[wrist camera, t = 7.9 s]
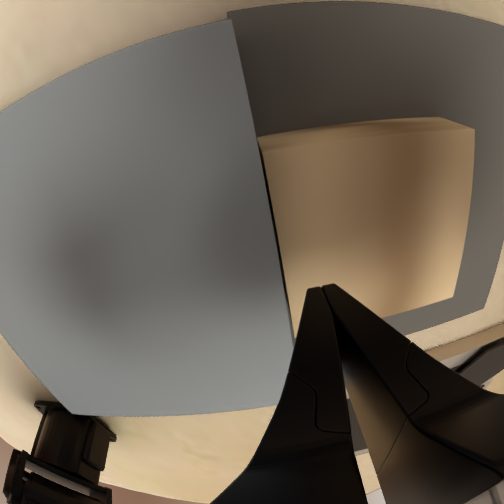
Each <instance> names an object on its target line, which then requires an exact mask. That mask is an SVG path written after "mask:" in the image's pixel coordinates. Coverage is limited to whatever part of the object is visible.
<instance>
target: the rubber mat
mask: <svg viewBox="0 0 504 504" xmlns="http://www.w3.org/2000/svg"><path fill="white" fill-rule="evenodd" d="M227 17H228V19H231V20H232V24H233V29H234V33H235V38H236V42H237V47H238V52H239V56H240V61H241V66H242V70H243V75H244V80H245V84H246V89H247V94H248V99H249V104H250V109H251V114H252V119H253V124H254V129H255V134H256V139H257V137H261V136H266V135H271V134H277V133H283V132H289V131H295V130H301V129H308V128H315V127H322V126H329V125H337V124H346V123H355V122H365V121H375V120H387V119H402V118H420V117H441V118H444V119H447V120H450V121H453V122H456V123H459V124H462V125H464V126H467V127H470V128H472V129H475V148H474V169H473V182H472V193H471V202H470V211H469V218H468V225H467V232H466V238H465V244H464V249H463V254H462V260H461V264H460V269H459V274H458V278H457V282H456V287H455V291H454V295H453V297H451V298H448V299H445V300H442V301H439V302H436V303H432V304H429V305H426V306H423V307H419V308H416V309H412V310H409V311H405V312H402V313H398V314H395V315H391V316H387V317H383V318H382V319H383V320H384V321H386V322H387V323H388V324H390V325H391V326H392V327H393V328H395V329H396V330H397V331H399V332H400V333H401V334H403V335H408V334H411V333H414V332H417V331H421V330H424V329H427V328H430V327H433V326H436V325H439V324H442V323H445V322H448V321H451V320H454V319H457V318H459V317H462V316H465V315H468V314H470V313H473V312H476V311H478V310H481V309H483V308H484V306H485V303H486V300H487V297H488V294H489V291H490V288H491V285H492V282H493V278H494V275H495V272H496V268H497V264H498V261H499V257H500V253H501V249H502V245H503V241H504V26H501V25H498V24H495V23H491V22H488V21H484V20H481V19H477V18H473V17H469V16H465V15H460V14H456V13H451V12H446V11H441V10H435V9H429V8H423V7H416V6H408V5H399V4H389V3H375V2H351V1H328V2H303V3H290V4H279V5H270V6H262V7H254V8H248V9H241V10H236V11H230V12H227ZM257 144H258V142H257ZM258 149H259V147H258ZM259 154H260V152H259ZM260 159H261V157H260ZM261 165H262V162H261ZM262 170H263V167H262ZM263 175H264V173H263ZM264 180H265V178H264ZM265 186H266V183H265ZM266 191H267V188H266ZM267 197H268V193H267ZM268 202H269V199H268ZM269 207H270V204H269ZM270 213H271V209H270ZM271 219H272V215H271ZM272 224H273V220H272ZM273 230H274V226H273ZM274 235H275V231H274ZM275 241H276V236H275ZM276 247H277V242H276ZM277 252H278V248H277ZM278 258H279V253H278ZM279 264H280V259H279ZM280 270H281V264H280ZM281 276H282V270H281ZM282 282H283V276H282ZM283 288H284V282H283ZM284 294H285V300H286V306H287V312H288V318H289V324H290V331H291V337H292V343H293V349H294V344H295V340H296V338H295V337H294V332H293V328H292V323H291V318H290V314H289V309H288V304H287V299H286V293H285V288H284Z"/></svg>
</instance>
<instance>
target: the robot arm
mask: <svg viewBox="0 0 504 504" xmlns="http://www.w3.org/2000/svg"><path fill="white" fill-rule="evenodd" d="M345 387H346V388H345ZM346 390H347V392H348V395H349V398H350V400H351V403H352V406H353V409H354V411H355V414H356V417H357V420H358V422H359V425H360V428H361V431H362V434H363V436H364V439H365V442H366V445H367V448H368V451H369V454H370V457H371V459H372V462H373V465H374V468H375V471H376V474H377V477H378V480H379V483H380V486H381V489H382V493H383V496H384V499H385V501H386V504H504V394H497V393H493V392H490V391H488V390H485V389H483V388H481V387H480V386H478V385H476V384H475V383H473V382H471V381H470V380H468V379H466V378H465V377H463V376H462V375H460V374H458V373H457V372H455V371H453V370H452V369H450V368H448V367H447V366H445V365H444V364H442V363H441V362H439V361H438V360H436V359H434V358H433V357H432V356H430V355H429V354H428V353H426V352H425V351H424V350H422V349H421V348H420V347H418V346H417V345H416V344H414V343H413V342H411V341H410V340H409V339H408V338H406V337H405V336H404V335H403V334H401V333H400V332H399V331H397V330H396V329H395V328H393V327H392V326H391V325H390V324H388V323H387V322H386V321H384V320H383V319H382V318H380V317H379V316H378V315H376V314H375V313H374V312H372V311H371V310H370V309H368V308H367V307H366V306H365V305H363V304H362V303H361V302H359V301H358V300H357V299H355V298H354V297H353V296H351V295H350V294H349V293H347V292H346V291H345V290H343V289H342V288H341V287H339V286H338V285H336V284H335V283H331V284H327V285H322V287H320V286H317V287H312V288H308V289H307V291H306V296H305V300H304V305H303V309H302V314H301V318H300V323H299V327H298V332H297V336H296V340H295V344H294V349H293V353H292V357H291V361H290V365H289V369H288V373H287V376H286V380H285V384H284V387H283V390H282V394H281V397H280V400H279V402H278V405H277V407H276V410H275V412H274V415H273V417H272V419H271V421H270V423H269V425H268V428H267V430H266V432H265V434H264V436H263V438H262V440H261V442H260V444H259V446H258V448H257V450H256V452H255V454H254V456H253V458H252V459H251V461H250V463H249V464H248V466H247V467H246V468H245V470H244V471H243V472H242V473H241V474H240V475H239V476H238V477H237V478H236V479H235V480H234V481H233V482H232V483H231V484H230V485H229V486H228V487H227V488H226V489H225V490H224V491H223V492H222V493H221V494H220V495H219V496H218V497H217V498H215V499H214V500H213V501H212V502H211V503H210V504H368V502H367V498H366V494H365V490H364V487H363V483H362V479H361V475H360V472H359V468H358V465H357V461H356V457H355V453H354V447H353V441H352V435H351V425H350V417H349V409H348V402H347V395H346ZM34 406H35V407H36V408H37V409H38V410H39V411H40V412H41V413H42V414H43V417H42V419H41V422H40V426H39V429H38V432H37V435H36V438H35V441H34V445H33V448H32V451H31V455H30V454H28V452H26V451H24V450H22V452H21V451H18V450H15V449H13V452H12V455H11V459H10V462H9V466H8V470H7V474H6V478H5V483H4V487H3V493H4V495H5V497H6V498H7V503H8V504H112V489H110V488H107V487H102V486H99V485H98V482H99V477H100V471H103V470H104V468H105V463H106V457H107V452H108V447H109V442H116V438H117V437H116V436H115V435H114V434H113V433H111V432H110V431H109V430H108V429H107V428H106V427H105V426H104V425H103V424H101V423H100V422H99V421H98V420H97V419H96V418H95V417H94V416H93V415H78V414H72V413H71V412H70V411H69V410H68V409H66V408H65V407H64V406H63V405H62V404H61V403H49V402H39V401H35V404H34ZM25 467H26V468H28V469H30V470H32V471H34V472H36V473H38V474H40V475H38V474H36V473H34V472H31V473H28V472H26V471H25V470H24V469H25ZM41 475H42V476H41ZM43 476H44V477H43ZM45 477H46V478H45ZM47 478H48V479H47ZM49 479H50V480H49ZM51 480H53V481H55V482H53V481H51ZM56 482H57V483H56ZM58 483H59V484H58ZM60 484H62V485H60ZM63 485H64V486H63ZM65 486H66V487H65ZM67 487H69V488H67ZM70 488H71V489H70ZM72 489H74V490H72ZM75 490H76V491H75ZM77 491H79V492H77ZM80 492H81V493H80ZM82 493H84V494H82ZM85 494H87V495H85ZM88 495H89V496H88Z"/></svg>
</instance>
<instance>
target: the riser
mask: <svg viewBox="0 0 504 504" xmlns="http://www.w3.org/2000/svg"><path fill="white" fill-rule="evenodd" d="M0 333H1V335H2V336H3V337H4V339H5V340H6V341H7V342H8V344H9V345H10V346H11V348H12V349H13V350H14V351H15V353H16V354H17V355H18V356H19V358H20V359H21V360H22V361H23V362H24V364H25V365H26V366H27V367H28V368H29V369H30V371H31V372H32V373H33V374H34V375H35V376H36V377H37V378H38V380H39V381H40V382H41V383H42V384H43V385H44V386H45V387H46V388H47V389H48V390H49V391H50V392H51V393H52V395H53V396H54V397H55V398H56V399H57V400H58V401H59V402H60V403H61V404H62V405H63V406H64V407H65V408H66V409H68V410H69V411H70V412H71V413H72V414H78V415H94V416H123V417H150V416H180V415H196V414H209V413H220V412H230V411H238V410H247V409H254V408H261V407H268V406H274V405H278V402H279V400H280V397H281V394H282V390H283V387H284V384H285V380H286V376H287V373H288V369H289V365H290V361H291V357H292V353H293V343H292V337H291V331H290V324H289V318H288V312H287V306H286V300H285V294H284V288H283V282H282V276H281V270H280V264H279V258H278V252H277V247H276V241H275V235H274V230H273V224H272V219H271V213H270V207H269V202H268V197H267V191H266V186H265V180H264V175H263V170H262V165H261V159H260V154H259V149H258V144H257V139H256V134H255V129H254V124H253V119H252V114H251V109H250V104H249V99H248V94H247V89H246V84H245V80H244V75H243V70H242V66H241V61H240V56H239V52H238V47H237V42H236V38H235V33H234V29H233V24H232V20H231V19H228V20H223V21H218V22H213V23H209V24H204V25H200V26H196V27H192V28H188V29H184V30H180V31H177V32H173V33H170V34H166V35H163V36H160V37H156V38H153V39H150V40H147V41H144V42H141V43H138V44H135V45H133V46H130V47H127V48H124V49H122V50H119V51H117V52H114V53H112V54H109V55H107V56H104V57H102V58H99V59H97V60H95V61H92V62H90V63H88V64H86V65H84V66H81V67H79V68H77V69H75V70H73V71H71V72H69V73H67V74H65V75H63V76H61V77H59V78H57V79H55V80H53V81H51V82H49V83H48V84H46V85H44V86H42V87H40V88H39V89H37V90H35V91H33V92H32V93H30V94H28V95H26V96H25V97H23V98H22V99H20V100H18V101H17V102H15V103H14V104H12V105H10V106H9V107H7V108H6V109H4V110H3V111H1V112H0Z"/></svg>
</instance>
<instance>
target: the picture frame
mask: <svg viewBox="0 0 504 504" xmlns="http://www.w3.org/2000/svg"><path fill="white" fill-rule="evenodd" d="M425 352H426V353H428V354H429V355H430V356H432V357H433V358H434V359H436V360H438V361H439V362H441V363H442V364H444V365H445V366H447V367H448V368H450V369H452V370H453V371H455V372H457V373H458V374H460V375H462V376H463V377H465V378H466V379H468V380H470V381H471V382H473V383H475V384H476V385H478V386H480V387H481V388H483V389H486V388H487V386H488V385H489V383H490V382H491V380H492V379H493V377H494V376H495V375H496V374H497V373H499V372H500V371H502V370H503V369H504V323H502V324H499V325H497V326H494V327H492V328H489V329H487V330H484V331H482V332H479V333H476V334H474V335H471V336H468V337H466V338H463V339H460V340H457V341H454V342H452V343H449V344H446V345H443V346H440V347H437V348H434V349H430V350H427V351H425ZM345 388H346V387H345ZM346 395H347V402H348V409H349V417H350V425H351V435H352V441H353V447H354V453H355V456H357V455H361V454H365V453H369V451H368V448H367V445H366V442H365V439H364V436H363V434H362V431H361V428H360V425H359V422H358V420H357V417H356V414H355V411H354V409H353V406H352V403H351V400H350V398H349V395H348V392H347V390H346Z"/></svg>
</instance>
